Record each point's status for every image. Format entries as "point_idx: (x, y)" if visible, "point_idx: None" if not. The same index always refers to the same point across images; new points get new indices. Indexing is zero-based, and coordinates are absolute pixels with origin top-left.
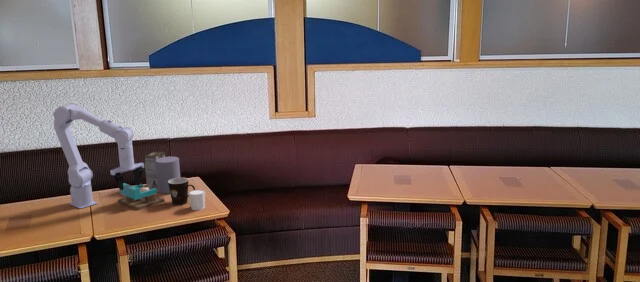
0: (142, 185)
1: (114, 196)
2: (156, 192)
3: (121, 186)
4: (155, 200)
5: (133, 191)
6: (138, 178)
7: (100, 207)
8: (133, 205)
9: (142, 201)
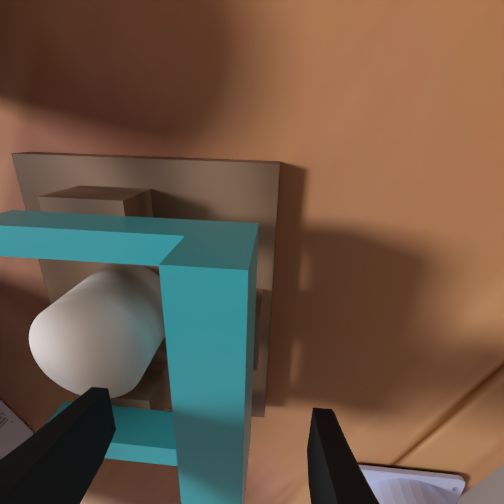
0: None
1: None
2: (8, 212)
3: (351, 457)
4: (82, 186)
5: (250, 284)
6: (25, 479)
7: (382, 412)
8: (267, 237)
9: None
